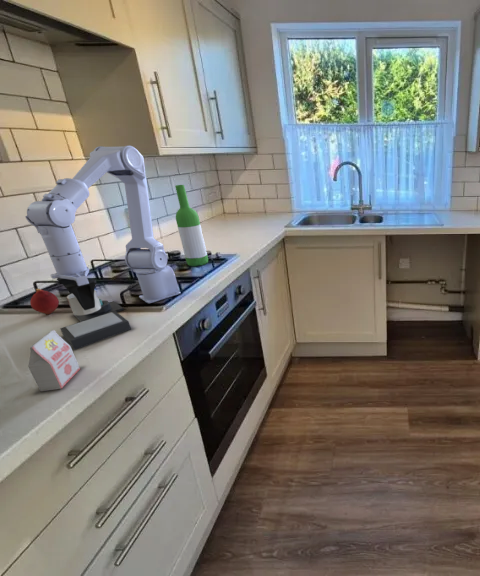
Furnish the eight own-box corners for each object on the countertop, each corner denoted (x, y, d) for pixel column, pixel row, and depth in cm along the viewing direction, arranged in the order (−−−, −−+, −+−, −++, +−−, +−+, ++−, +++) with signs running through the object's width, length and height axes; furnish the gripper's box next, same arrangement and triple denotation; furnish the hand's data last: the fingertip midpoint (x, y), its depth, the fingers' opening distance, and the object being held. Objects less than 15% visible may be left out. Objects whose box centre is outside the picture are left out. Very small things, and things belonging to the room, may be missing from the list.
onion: (60, 307, 108) (49, 282, 104) (65, 312, 104) (54, 287, 101) (34, 314, 103) (22, 289, 100) (38, 320, 100) (26, 294, 97)
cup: (97, 303, 94) (91, 287, 92) (104, 309, 91) (98, 292, 89) (70, 311, 90) (63, 294, 88) (77, 317, 87) (70, 300, 85)
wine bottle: (188, 262, 144) (169, 184, 132) (209, 259, 146) (192, 183, 135) (186, 268, 137) (165, 187, 125) (208, 265, 140) (190, 185, 128)
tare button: (101, 302, 105) (99, 298, 104) (104, 305, 103) (102, 300, 103) (88, 306, 103) (86, 301, 102) (91, 309, 101) (90, 304, 100)
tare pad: (114, 303, 110) (111, 295, 109) (123, 310, 105) (121, 302, 104) (73, 315, 103) (70, 307, 102) (82, 323, 98) (78, 315, 97)
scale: (118, 318, 100) (114, 309, 99) (131, 329, 94) (128, 320, 93) (63, 336, 91) (59, 327, 90) (74, 349, 86) (70, 339, 85)
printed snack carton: (40, 391, 72) (19, 348, 68) (60, 371, 78) (42, 331, 74) (61, 388, 72) (41, 346, 68) (80, 368, 78) (63, 328, 75)
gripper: (36, 251, 86) (58, 303, 91) (50, 263, 77) (73, 319, 83) (73, 244, 91) (91, 294, 96) (90, 255, 82) (109, 308, 88)
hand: (85, 305), depth 90 cm, fingers closed on cup, 6 cm apart
